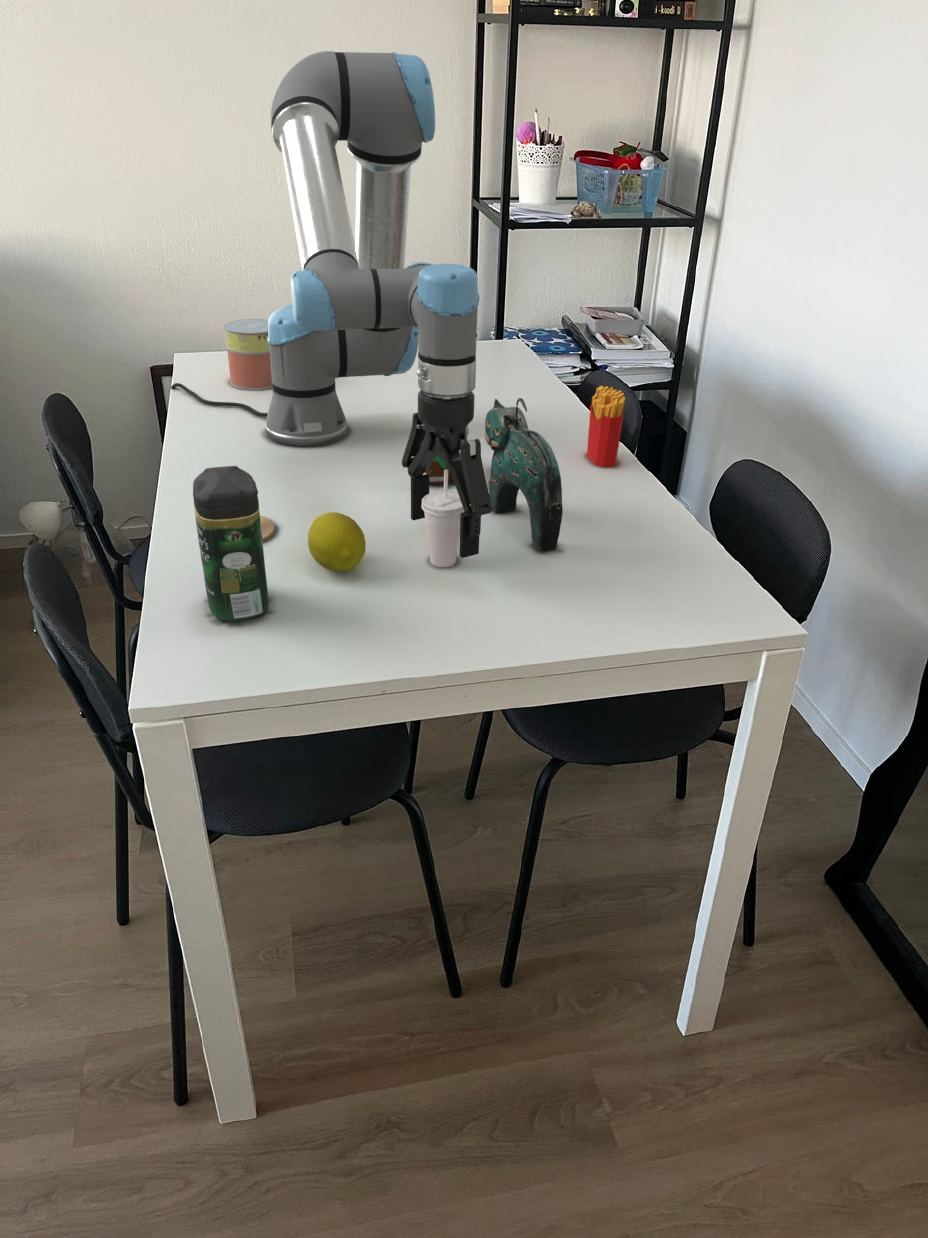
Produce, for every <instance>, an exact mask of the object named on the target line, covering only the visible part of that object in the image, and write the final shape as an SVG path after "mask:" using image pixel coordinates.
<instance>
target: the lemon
mask: <svg viewBox="0 0 928 1238" xmlns="http://www.w3.org/2000/svg"><path fill="white" fill-rule="evenodd" d="M366 543H367V542H366V537H365V534H364V531H363V530H362V528H361V527H360V525H359V523H357V522H356V520H354V519H353V518H352V517H350V516H349V515H347V514H344V513H341V512H337V511H335V512H333V511H331V512H330V511H329V512H325V513H323V514H321V515H319V516H317V517H316V518H314V519H313V521H312V523H311V524H310V526H309V529H308V535H307V545H308V550H309V553H310V555H311V556H312V558H313V559H314V561H315V562H316V563H317V565H319V566H321V567H322V568H324V569H326V570H328V571H331V572H336V573H348V572H352V570H354V569H357V567H358V566H359V565H360V564H361V562H362V560H363V558H364V557H365V553H366V550H367V549H366V548H367V547H366Z"/></svg>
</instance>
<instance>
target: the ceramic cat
mask: <svg viewBox="0 0 928 1238" xmlns="http://www.w3.org/2000/svg"><path fill="white" fill-rule="evenodd" d="M493 403H494V404H493V406H492V408H491V409H490V410H489V411H487V413H486V416H485V423H484V424H485V425H484V439H485V442H486V443H487V445H488V446H489V447H490V448H491V451H493V454H492V458H491V464H490V473H489V479H488V492H489V497H490V501H491V506H492V512H494V513H496V514H506V513H511V512H516V510H517V502H518V501H517V499H518V495H519V490H520V491H521V493H522V495H523V496H524V498H525V500H526V504H527V506H528V511H529V518H530V519H529V520H530V533H531V545H532V547H533V549H534V550H536V551H538V552H540V553H545V552H549V551H555V550H557V547H558V543H559V536H560V533H561V525H562V519H563V510H564V509H563V508H564V507H563V488H562V477H561V472H560V467H559V463H558V461H557V457H556V455H555V453H554V451H553V448H552V446H551V445H550V444H549V442H548V441H547V440H546V438H545V437H543V435H542V434H540V433H539V432H537V431H535V430H530V428H529V427H528V422H527V419H526V416H525V413H524V412H523V411H522V409H521V408H520V407H519V403H521V405H522V408H523V409H524V410H525V412H527V411H528V407H527V404H526V401H524V398H522V397H518V398H517V400H516V404H515V405H516V406H507V407H506V406H504V405H503V404H502V403H501V402H500V401H499V400H498V399H497V398H495V399H494V401H493Z"/></svg>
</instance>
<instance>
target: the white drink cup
mask: <svg viewBox="0 0 928 1238" xmlns="http://www.w3.org/2000/svg"><path fill="white" fill-rule="evenodd" d="M421 506H422V509H423V510H424V514H425V518H424V521H425V530H426V539H427V545H428V546H427V547H428V554H429V560H430V564H431V565H432V566H435V567H439V568H449V567H452V566H454V565H455V564H456V561H457V555H458V550H459V545H460V514H461V513H463V512H464V509H463V506H462V503H461V500H460V497H459V494H458V492H453V491H449V484H448V470H447V469H446V470H444V485H443V491H435V492H429V494H428V495H426V496H424V497H423V499H422V505H421Z"/></svg>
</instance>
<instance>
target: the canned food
mask: <svg viewBox="0 0 928 1238" xmlns="http://www.w3.org/2000/svg"><path fill="white" fill-rule="evenodd" d="M268 320H269V319H263V318H243V319H237V320H233V321H230V322H227V323H226V324H225V325H224V329H225V339H226V340H225V341H226V348H227V358H228V359H227V360H228V369H229V383H230V386H232V387H234V388H237V389H241V390H245V391H260V390H262V391H263V390H269V389H272V375H271V361H270V346H269V344H268V340H267V339H268Z"/></svg>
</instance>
